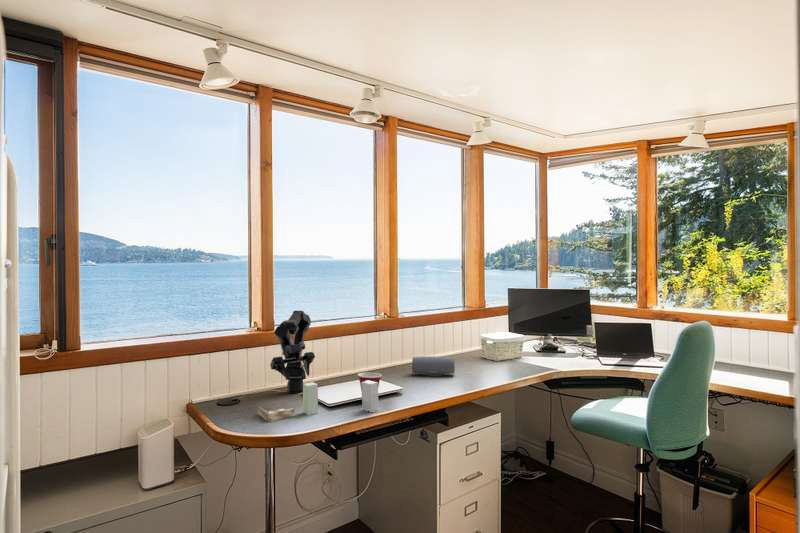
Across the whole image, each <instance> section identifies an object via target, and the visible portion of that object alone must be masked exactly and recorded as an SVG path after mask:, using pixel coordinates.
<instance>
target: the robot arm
mask: <svg viewBox="0 0 800 533" xmlns="http://www.w3.org/2000/svg"><path fill="white" fill-rule="evenodd" d="M311 323H312V322H311V317H310V315H308V314H307V313H305V311H304V310H293V311H292V314H291V315H290V316H289V318H288V319H287V320H283V321H281V323H280V324H279V325H278V326H277V327H276V328H275V329H274V334H275V336H276V338H277V340H278V342H279V344H280V346H281V350H282V354H281V355H283V356H280V355H279V356H274V357H273V358H272V359H271V361H270V366H269V367H270V369H271V370H274V371H277V372H278V373H280V374H281V375H282V376H283V377H284V378H285V380H286V381H287V386H286V387H287V389H286V391H287V393H290V394H291V395H292V394H293V395H294V394H298V393H303V392H302V391H303V384H304V380H305V379H307V376H308V377H309V376H310V366H311V364H312V363H313V362H314V360H315V358H316V356H315V353H314V352H313V351H310V352H309V351H308V352H304V353H303V350H305V349H306V344H305V342H304V341H305V335H306V334H307V332H308V331H309V329H310V326H311ZM292 335H294V339H293V336H292ZM283 357H284V358H283Z"/></svg>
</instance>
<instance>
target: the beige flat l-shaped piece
mask: <svg viewBox="0 0 800 533" xmlns="http://www.w3.org/2000/svg"><path fill="white" fill-rule="evenodd" d="M257 415H258V416H259V417H261V418H263V419H264V420H265V421H267V422H273V421H278V420H282V419H287V418H291V417H295V408H294V407H292V408H287V409H285V408H280V409H275V410H270V411H268V410H266V409H264V407H263V408H262V406H258V407H257Z"/></svg>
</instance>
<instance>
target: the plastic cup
mask: <svg viewBox="0 0 800 533" xmlns="http://www.w3.org/2000/svg"><path fill="white" fill-rule="evenodd" d="M357 376H358V379H359V383H360V384H359V385H360V390H361V392H362V386H361V382H363V381H367V380H369V381H374V382H378V387H379V384H380V380H381V377H382V374H381V373H378V372H361V373H358V374H357Z"/></svg>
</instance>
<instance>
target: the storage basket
mask: <svg viewBox="0 0 800 533" xmlns="http://www.w3.org/2000/svg"><path fill="white" fill-rule="evenodd" d="M524 341H525V335H524V334H519V333H514V332H509V331H508V332H495V333H494V332H493V333H485V334H481V335H480V345H481V346H480V348H481V357H482V358H484V359H488V360H490V361H491V360H492V361H495V362H499V361H505V360H514V359H520V358H522V357H523V350H524V349H523V347H524Z"/></svg>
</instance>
